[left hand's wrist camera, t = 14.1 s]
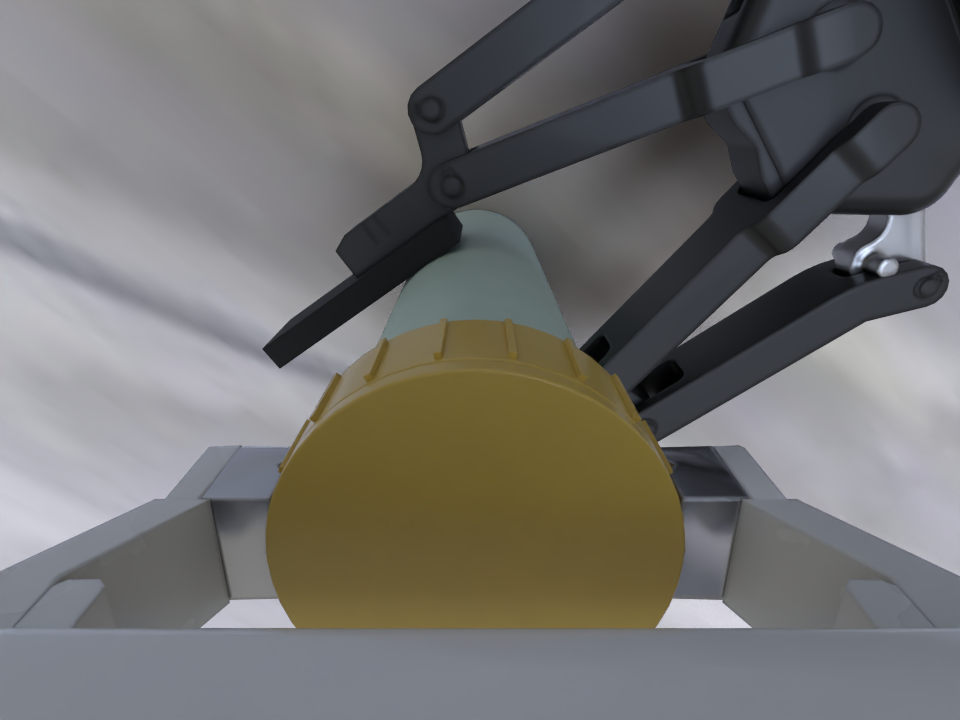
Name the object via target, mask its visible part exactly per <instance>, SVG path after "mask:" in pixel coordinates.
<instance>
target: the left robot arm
mask: <svg viewBox="0 0 960 720" xmlns="http://www.w3.org/2000/svg"><path fill="white" fill-rule="evenodd" d="M290 448H291V447H264V446H244V447H243V446H213V447H209V448H208V449H207V450H206V451H205V452H204V453H203V455H202V456H201V457H200V458H199V459H198V461H197V462H196V463H195V464H194V465H193V466H192V468H191V469H190V470H189V471H188V472H187V474H186V475H185V476H184V477H183V478H182V479H181V481H180V482H179V483H178V484H177V485H176V487H175V488H174V489H173V490H172V491H171V493H170V494H169V495H168V496H167V497H166V498H165V499H154V500H152V501H150V502H148V503H146V504H144V505H142V506H139V507H137V508H135V509H133V510H131V511H129V512H127V513H124V514H122V515H120V516H118V517H116V518H114V519H112V520H109V521H107V522H105V523H103V524H101V525H99V526H97V527H94V528H92V529H90V530H88V531H86V532H84V533H81V534H79V535H77V536H75V537H73V538H71V539H69V540H66V541H64V542H62V543H60V544H58V545H56V546H54V547H51V548H49V549H47V550H45V551H43V552H41V553H39V554H36V555H34V556H32V557H30V558H28V559H26V560H24V561H21V562H19V563H17V564H15V565H13V566H11V567H9V568H6V569H4V570H2V571H0V720H960V576H958V575H956V574H954V573H952V572H950V571H947V570H945V569H943V568H941V567H939V566H937V565H935V564H933V563H931V562H928V561H926V560H924V559H922V558H920V557H918V556H916V555H914V554H912V553H909V552H907V551H905V550H903V549H901V548H899V547H897V546H895V545H893V544H890V543H888V542H886V541H884V540H882V539H880V538H878V537H876V536H873V535H871V534H869V533H867V532H865V531H863V530H861V529H859V528H857V527H854V526H852V525H850V524H848V523H846V522H844V521H842V520H840V519H838V518H835V517H833V516H831V515H829V514H827V513H825V512H823V511H821V510H819V509H816V508H814V507H812V506H810V505H808V504H806V503H804V502H802V501H799V500H797V499H786V497H785V496H784V495H783V494H782V493H781V491H780V490H779V489H778V488H777V486H776V485H775V484H774V483H773V482H772V480H771V479H770V478H769V477H768V476H767V474H766V473H765V472H764V471H763V469H762V468H761V467H760V466H759V465H758V463H757V462H756V461H755V460H754V459H753V457H752V456H751V455H750V454H749V453H748V451H747V450H746V449H745V448H744V447H741V446H739V445H735V446H699V447H660V448H661V449H662V451H663V453H664V455H665V457H666V458H667V460H668V462H669V464H670V466H671V468H672V470H673V473H671V474H670V477H671V479H672V481H673V484H674V486H675V488H676V491H677V493H678V496H679V500H680V505H681V509H682V513H683V517H684V529H685V549H684V561H683V566H682V570H681V574H680V578H679V582H678V586H677V588H676V591H675V593H674V595H673V598H674V599H711V600H723V603H724V604H725V605H726V606H727V607H729V608H730V609H731V610H732V611H733V612H734V613H736V614H737V615H738V616H739V617H740V618H741V619H743V620H744V621H745V622H746V623H747V624H748V625H750V626H751V627H752V628H200V627H202V626H203V625H204V624H205V623H206V622H207V621H209V620H210V619H211V618H212V617H213V616H215V615H216V614H217V613H218V612H219V611H220V610H222V609H223V608H224V607H225V606H226V605H228V604H229V603H230V601H229V600H241V599H277V598H278V596H277V593H276V591H275V588H274V586H273V583H272V580H271V576H270V571H269V567H268V563H267V555H266V541H265V534H266V523H267V513H268V510H269V506H270V502H271V498H272V494H273V491H274V489H275V486H276V484H277V482H278V480H279V477H280V475H281V473H278V470H279V467H280V465H281V463H282V462H283V460H284V458H285V456H286V455H287V453H288V451H289V449H290Z"/></svg>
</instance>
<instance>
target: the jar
mask: <svg viewBox="0 0 960 720" xmlns="http://www.w3.org/2000/svg"><path fill="white" fill-rule="evenodd" d="M455 215H456V216H457V217H458V219H459V220H460V222H461V223H462V225H463V228H462V234H461V239H460V242H459V243H458V244H456V245H455V246H453V247H452V248H451V249H449V250H448V251H446V252H445V253H443V254H442V255H441V256H439V257H438V258H436V259H435V260H434V261H432V262H431V263H429V264H428V265H426V266H425V267H424V268H422V269H421V270H419V271H418V272H416V273H415V274H414V275H412V276H411V277H409V278H408V279H407V280H406V282H405V285H404V287H403V289H402V291H401V293H400V296H399V298H398V300H397V302H396V304H395V307H394V309H393V311H392V313H391V315H390V318H389V320H388V322H387V324H386V326H385V329H384V331H383V333H382V335H381V338H380V339H382V338H384V337H386V339H387V340H390V339H392V338H394V337H396V336H398V335H400V334H403V333H405V332H408V331H411V330H414V329H418V328H421V327H424V326H427V325H432V324H437V323H439V322H440V319H443V318H447V322H448V321H457V320H476V319H479V320H493V321H504V322H505V318H508V319H512V322H513V323H514V324H519V325H524V326H528V327H531V328H534V329H537V330H540V331H543V332H546V333H549V334H551V335H553V336H556V337H558V338H560V339H562V340H565V339H566V338H569V339H571V340H572V341H573V343H574V340H573V338H572V336H571V334H570V331H569V329H568V327H567V324H566V322H565V320H564V318H563V315H562V313H561V311H560V308H559V306H558V304H557V302H556V299H555V297H554V295H553V292H552V290H551V288H550V286H549V283H548V281H547V279H546V276H545V274H544V272H543V270H542V267H541V265H540V263H539V260H538V258H537V256H536V254H535V251H534V249H533V247H532V244H531V243H530V241H529V239H528V237H527V236H526V234H525V233H524V232H523V230H522V229H521V228H520V227H519V226H518V225H517V224H515V223H514V222H513V221H512V220H510V219H508V218H507V217H505V216H503V215H501V214H498V213H495V212H492V211H487V210H467V211H462V212H459V213H456V214H455ZM379 341H380V340H379ZM378 343H379V342H378ZM377 345H378V344H377ZM574 346H575V347H576V345H575V343H574ZM376 347H377V346H376ZM576 348H577V347H576Z"/></svg>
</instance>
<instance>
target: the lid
mask: <svg viewBox="0 0 960 720" xmlns="http://www.w3.org/2000/svg"><path fill="white" fill-rule="evenodd" d="M309 419H310V420H311V421H310V420H308V419H307V420H306V422H305V424H304V425H303V427H302V429H301V430H300V432H299V434H298V436H297V437H296V439H295V441H294V443H293V444H292V446H291V448H290V449H289V451H288V453H287V455H286V456H285V458H284V460H283V462H282V463H281V465H280V467H279V470H278V473H281V475H280V477H279V480H278V482H277V484H276V486H275V489H274V491H273V494H272V498H271V502H270V506H269V510H268V513H267V523H266V534H265V541H266V555H267V563H268V567H269V571H270V576H271V580H272V583H273V586H274V588H275V591H276V593H277V596H278V598H279V601H280V603H281V605H282V607H283V608H284V610H285V612H286V613H287V615H288V617H289V619H290V620H291V622H292V623H293V625H294V626H295V627H296V628H655V627H656V626H657V625H658V623H659V622H660V620H661V618H662V617H663V615H664V613H665V612H666V610H667V608H668V607H669V605H670V603H671V600H672V598H673V595H674V593H675V591H676V588H677V586H678V582H679V578H680V574H681V570H682V566H683V561H684V549H685V529H684V517H683V513H682V509H681V505H680V500H679V496H678V493H677V491H676V488H675V486H674V484H673V481H672V479H671V477H670V474H671V473H673V470H672V468H671V466H670V464H669V462H668V460H667V458H666V457H665V455H664V453H663V451H662V449H661V448H660V446H659V444H658V442H657V440H656V439H655V437H654V435H653V433H652V431H651V430H650V428H649V426H648V424H647V422H646V421H645V420H643V421H641V417H640V415H639V413H638V411H637V410H636V408H635V406H634V404H633V402H632V400H631V399H630V397H629V395H628V393H627V391H626V389H625V388H624V386H623V384H622V382H621V380H620V378H619V377H618V376H617V375H616V374H615V373H614V374H613V375H612V376H611V375H610V374H609V373H608V372H607V371H606V370H605V369H604V368H603V367H601V366H600V365H599V364H598V363H597V362H596V361H595V360H594V359H592V358H591V357H590V356H588V355H587V354H585V353H584V352H582V351H581V350H579V349H578V348H576V347H575V346H574V343H573V341H572V340H571V339H569V338H566V339H565V340H562V339H560V338H558V337H556V336H553V335H551V334H549V333H546V332H543V331H540V330H537V329H534V328H531V327H528V326H524V325H519V324H514V323H513V322H512V319H508V318H505V322H504V321H493V320H479V319H476V320H457V321H448V322H447V318H443V319H440V322H439V323H437V324H432V325H427V326H424V327H421V328H418V329H414V330H411V331H408V332H405V333H403V334H400V335H398V336H396V337H394V338H392V339H390V340H387V339H386V337H384V338H382V339H380V341H379V343H378V345H377V347H375V348H374V349H372V350H371V351H369V352H368V353H366V354H364V355H363V356H362V357H361V358H359V359H358V360H357V361H356V362H355V363H354V364H352V365H351V366H350V367H349V368H348V369H347V370H345V372H344V373H343V374H342V375H339V374H338V373H336V374H335V375H334V376H333V378H332V380H331V381H330V383H329V385H328V387H327V388H326V390H325V392H324V394H323V395H322V397H321V399H320V401H319V402H318V404H317V406H316V408H315V409H314V411H313V413H312V415H311V416H310V418H309Z"/></svg>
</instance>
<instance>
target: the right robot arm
mask: <svg viewBox="0 0 960 720" xmlns="http://www.w3.org/2000/svg"><path fill="white" fill-rule="evenodd" d="M622 1H624V0H531V1H530V2H528V3H527V4H526V5H524V6H523V7H522V8H520V9H519V10H518V11H517V12H515V13H514V14H513V15H511V16H510V17H509V18H507V19H506V20H505V21H504V22H502V23H501V24H500V25H498V26H497V27H496V28H494V29H493V30H492V31H491V32H489V33H488V34H487V35H485V36H484V37H483V38H481V39H480V40H479V41H478V42H476V43H475V44H474V45H472V46H471V47H470V48H468V49H467V50H466V51H465V52H463V53H462V54H461V55H459V56H458V57H457V58H455V59H454V60H453V61H452V62H450V63H449V64H448V65H446V66H445V67H444V68H442V69H441V70H440V71H438V72H437V73H436V74H435V75H433V76H432V77H431V78H429V79H428V80H427V81H425V82H424V83H423V84H422V85H420V86H419V87H418V88H417V89H416V90H415V91H414V92H413V93H412V94H411V96H410V99H409V102H408V115H409V118H410V120H411V122H412V124H413V126H414V129H415V133H416V136H417V140H418V143H419V147H420V150H421V155H422V169H421V172H420V175H419V177H418V178H417V180H416V181H415V182H414V183H413V184H411V185H410V186H409V187H407V188H406V189H405V190H403V191H402V192H401V193H399V194H398V195H397V196H395V197H394V198H393V199H391V200H390V201H389V202H387V203H386V204H385V205H383V206H382V207H381V208H379V209H378V210H377V211H375V212H374V213H372V214H371V215H370V216H368V217H367V218H366V219H364V220H363V221H362V222H360V223H359V224H358V225H356V226H355V227H354V228H353V229H351V230H350V231H349V232H348V233H347V234H346V235H345V236H344V237H343V239H342V241H341V243H340V244H339V246H338V248H337V250H336V252H337V254H338V255H339V256H340V258H341V259H342V260H343V261H344V263H345V264H346V265H347V266H348V268H349V269H350V270H351V271H352V273H353V275H352V276H350V277H349V278H347V279H346V280H345V281H343V282H342V283H340V284H339V285H338V286H336V287H335V288H334V289H332V290H331V291H329V292H328V293H327V294H325V295H324V296H323V297H321V298H320V299H318V300H317V301H316V302H314V303H313V304H311V305H310V306H309V307H307V308H306V309H305V310H303V311H302V312H300V313H299V314H298V315H296V316H295V317H293V318H292V319H291V320H290V321H289V322H288V323H287V324H286V325H285V326H284V327H283V328H282V329H281V330H280V331H279V332H278V333H277V334H276V335H275V336H274V337H273V338H272V339H271V340H270V342H269V343H268V344H267V345H266V346H265V347H264V348H263V350H264V351H265V352H266V354H267V355H268V356H269V357H270V358H271V359H272V360H273V361H274V363H275V364H276V365H277V366H278V367H279V368H281V367H283V366H284V365H286V364H287V363H288V362H290V361H291V360H293V359H294V358H296V357H297V356H298V355H300V354H301V353H303V352H304V351H306V350H307V349H308V348H310V347H311V346H313V345H314V344H315V343H317V342H318V341H320V340H321V339H323V338H324V337H325V336H327V335H328V334H330V333H331V332H333V331H334V330H335V329H337V328H338V327H340V326H341V325H343V324H344V323H345V322H347V321H348V320H350V319H351V318H352V317H354V316H355V315H357V314H358V313H360V312H361V311H362V310H364V309H365V308H367V307H368V306H370V305H371V304H372V303H374V302H375V301H377V300H378V299H379V298H381V297H382V296H384V295H385V294H387V293H388V292H389V291H391V290H392V289H394V288H395V287H397V286H398V285H399V284H401V283H402V282H404V281H405V280H406V279H408V278H409V277H411V276H412V275H414V274H415V273H416V272H418V271H419V270H421V269H422V268H424V267H425V266H426V265H428V264H429V263H431V262H432V261H434V260H435V259H436V258H438V257H439V256H441V255H442V254H443V253H445V252H446V251H448V250H449V249H451V248H452V247H453V246H455V245H456V244H458V243H459V242H460V239H461V234H462V228H463V225H462V223H461V222H460V220H459V219H458V217H457V216H456V215H455V213H454V212H453V211H454V210H456V209H457V208H460V207H463V206H465V205H468V204H470V203H473V202H476V201H478V200H481V199H483V198H486V197H489V196H491V195H494V194H496V193H499V192H502V191H504V190H507V189H509V188H512V187H515V186H517V185H520V184H522V183H525V182H528V181H530V180H533V179H535V178H538V177H541V176H543V175H546V174H548V173H551V172H554V171H556V170H559V169H561V168H564V167H567V166H569V165H572V164H574V163H577V162H580V161H582V160H585V159H587V158H590V157H593V156H595V155H598V154H600V153H603V152H606V151H608V150H611V149H613V148H616V147H619V146H621V145H624V144H626V143H629V142H632V141H634V140H637V139H639V138H642V137H645V136H647V135H650V134H652V133H655V132H658V131H660V130H663V129H665V128H668V127H671V126H673V125H676V124H678V123H681V122H684V121H687V120H690V119H694V118H698V117H701V116H704V117H705V119H706V120H707V122H708V124H709V125H710V126H711V127H712V128H713V129H714V130H715V132H716V133H717V134H718V135H719V136H720V137H721V138H722V139H723V140H724V141H725V142H726V143H727V145H728V149H729V154H730V159H731V164H732V169H733V173H734V174H735V176H736V178H737V180H738V181H737V182H736V183H735V184H734V185H733V186H732V187H731V188H730V189H729V190H728V191H727V192H726V193H725V194H724V195H723V196H722V197H721V198H720V199H719V201H718V202H717V203H716V205H715V206H714V209H713V213H712V215H711V216H710V217H709V218H708V219H707V220H706V221H705V223H704V224H703V225H702V226H701V227H700V228H699V229H698V230H697V231H696V232H695V233H694V234H693V235H692V236H691V237H690V238H689V239H688V240H687V241H686V242H685V243H684V244H683V245H682V246H681V247H680V248H679V249H678V250H677V251H676V252H675V253H674V254H673V255H672V256H671V257H670V258H669V259H668V260H667V261H666V262H665V263H664V264H663V265H662V266H661V267H660V268H659V269H658V270H657V271H656V272H655V273H654V274H653V275H652V276H651V277H650V278H649V279H648V280H647V281H646V282H645V283H644V284H643V285H642V286H641V287H640V288H639V289H638V290H637V291H636V292H635V293H634V294H633V295H632V296H631V297H630V298H629V299H628V300H627V301H626V302H625V303H624V304H623V305H622V306H621V307H620V308H619V309H618V310H617V311H616V312H615V313H614V314H613V315H612V316H611V318H610V319H609V320H608V321H607V322H606V323H605V324H604V325H603V326H602V327H601V328H600V329H599V330H598V331H597V332H596V333H595V334H594V335H593V336H592V337H591V338H590V339H589V340H588V341H587V342H586V343H585V344H584V345H583V346H582V347H581V348H580V349H579V350H581V351H582V352H584V353H585V354H587V355H588V356H590V357H591V358H592V359H594V360H595V361H596V362H597V363H598V364H599V365H600V366H601V367H603V368H604V369H605V370H606V371H607V372H608V373H609V374H610V375H611V376H612V375H613V374H614V373H615V374H616V375H617V376H618V377H619V378H620V380H621V382H622V384H623V386H624V388H625V389H626V391H627V393H628V395H629V397H630V399H631V400H632V402H633V404H634V406H635V408H636V410H637V411H638V413H639V415H640V417H641V421H643V420H645V421H646V422H647V424H648V426H649V428H650V430H651V431H652V433H653V435H654V437H655V439H656V440H657V442H658V441H660V440H662V439H663V438H665V437H667V436H669V435H670V434H672V433H674V432H675V431H677V430H679V429H681V428H682V427H684V426H686V425H688V424H689V423H691V422H693V421H695V420H696V419H698V418H700V417H701V416H703V415H705V414H707V413H708V412H710V411H712V410H714V409H715V408H717V407H719V406H720V405H722V404H724V403H726V402H727V401H729V400H731V399H733V398H734V397H736V396H738V395H740V394H741V393H743V392H745V391H746V390H748V389H750V388H752V387H753V386H755V385H757V384H759V383H760V382H762V381H764V380H765V379H767V378H769V377H771V376H772V375H774V374H776V373H778V372H779V371H781V370H783V369H785V368H786V367H788V366H790V365H791V364H793V363H795V362H797V361H798V360H800V359H802V358H804V357H805V356H807V355H809V354H810V353H812V352H814V351H816V350H817V349H819V348H821V347H823V346H824V345H826V344H828V343H830V342H831V341H833V340H835V339H836V338H838V337H840V336H842V335H843V334H845V333H847V332H849V331H850V330H852V329H854V328H855V327H857V326H859V325H861V324H862V323H864V322H866V321H870V320H874V319H878V318H882V317H886V316H890V315H894V314H898V313H902V312H906V311H910V310H914V309H919V308H923V307H927V306H929V305H931V304H934V303H936V302H937V301H938V300H939V299H940V298H942V297H943V295H944V293H945V292H946V290H947V288H948V283H949V279H948V274H947V273H946V272H945V270H944V269H943V268H940V267H938V266H935V265H932V264H929V263H926V262H925V209H926V208H927V207H929V206H931V205H932V204H934V203H935V202H936V201H938V200H939V199H940V198H941V197H942V196H943V195H944V194H945V193H946V192H947V190H948V189H949V188H950V186H951V185H952V184H953V182H954V181H955V179H956V178H957V177H958V176H959V175H960V0H731V3H730V5H729V7H728V9H727V12H726V14H725V16H724V19H723V21H722V23H721V25H720V28H719V30H718V32H717V34H716V37H715V39H714V41H713V44H712V46H711V48H710V50H709V53H708V54H706V55H703V56H701V57H698V58H696V59H693V60H691V61H688V62H686V63H683V64H681V65H678V66H676V67H673V68H671V69H668V70H666V71H663V72H661V73H658V74H656V75H654V76H652V77H650V78H647V79H645V80H642V81H640V82H637V83H635V84H632V85H630V86H627V87H625V88H622V89H620V90H617V91H615V92H612V93H610V94H607V95H604V96H602V97H599V98H597V99H594V100H592V101H589V102H587V103H584V104H582V105H579V106H577V107H574V108H572V109H569V110H567V111H564V112H562V113H559V114H557V115H554V116H552V117H549V118H547V119H544V120H542V121H539V122H537V123H534V124H532V125H529V126H527V127H524V128H522V129H519V130H516V131H514V132H511V133H509V134H506V135H504V136H501V137H499V138H496V139H494V140H491V141H489V142H486V143H484V144H481V145H479V146H476V147H474V148H471V149H469V148H468V144H467V140H466V136H465V133H464V129H463V125H462V120H463V119H464V118H466V117H467V116H468V115H470V114H471V113H472V112H474V111H475V110H476V109H478V108H479V107H481V106H482V105H483V104H485V103H486V102H487V101H489V100H490V99H491V98H493V97H494V96H495V95H497V94H498V93H499V92H501V91H502V90H503V89H505V88H506V87H508V86H509V85H510V84H512V83H513V82H514V81H516V80H517V79H518V78H520V77H521V76H522V75H524V74H525V73H526V72H528V71H529V70H531V69H532V68H533V67H535V66H536V65H537V64H539V63H540V62H541V61H543V60H544V59H545V58H547V57H548V56H549V55H551V54H552V53H554V52H555V51H556V50H558V49H559V48H560V47H562V46H563V45H564V44H566V43H567V42H568V41H570V40H571V39H572V38H574V37H575V36H577V35H578V34H579V33H581V32H582V31H583V30H585V29H586V28H587V27H589V26H590V25H591V24H593V23H594V22H595V21H597V20H598V19H599V18H601V17H602V16H604V15H605V14H606V13H608V12H609V11H610V10H612V9H613V8H614V7H616V6H617V5H618V4H620V3H621V2H622ZM830 214H853V215H869V219H868V222H867V224H866V226H865V227H864V228H863V230H862V231H861V232H860V233H858V234H857V235H856V236H854V237H852V238H850V239H848V240H846V241H845V242H841V243H838V244H837V245H836V246H835V247H834V249H833V251H832V256H833V258H834V259H833V260H830V261H827V262H823V263H820V264H818V265H816V266H813V267H811V268H809V269H806V270H804V271H802V272H801V273H799V274H797V275H795V276H793V277H792V278H790V279H788V280H787V281H785V282H783V283H782V284H780V285H779V286H777V287H775V288H774V289H772V290H770V291H769V292H767V293H765V294H764V295H762V296H761V297H759V298H757V299H756V300H754V301H752V302H751V303H749V304H747V305H746V306H744V307H743V308H741V309H739V310H738V311H736V312H734V313H733V314H731V315H729V316H728V317H726V318H725V319H723V320H721V321H720V322H718V323H716V324H715V325H713V326H712V327H710V328H708V329H707V330H705V331H703V332H702V333H700V334H698V335H697V336H695V337H694V338H692V339H690V340H689V341H687V342H685V343H684V344H682V345H680V344H681V343H682V342H683V341H684V340H685V339H686V338H687V337H688V336H689V335H690V334H691V333H693V332H694V331H695V330H696V329H697V328H698V327H699V326H700V325H701V324H702V323H703V322H704V321H705V320H706V319H707V318H708V317H709V316H710V315H711V314H713V313H714V312H715V311H716V310H717V309H718V308H719V307H720V306H721V305H722V304H723V303H724V302H725V301H726V300H727V299H728V298H729V297H730V296H732V295H733V294H734V293H735V292H736V291H737V290H738V289H739V288H740V287H741V286H742V285H743V284H744V283H745V282H746V281H747V280H748V279H749V278H750V277H752V276H753V275H754V274H755V273H756V272H757V271H758V270H759V269H760V268H761V267H762V266H763V265H764V264H765V263H766V262H767V261H769V260H770V259H771V258H773V257H774V256H777V255H780V254H783V253H786V252H788V251H790V250H791V249H793V248H794V247H795V246H797V245H798V244H799V243H800V242H801V241H802V240H803V239H804V238H805V237H806V236H808V235H809V234H810V233H811V232H812V231H813V230H814V229H815V228H816V227H817V226H818V225H819V224H820V223H821V222H822V221H823V220H825V219H826V218H827V217H828V216H829V215H830ZM679 345H680V346H679ZM678 346H679V347H678Z"/></svg>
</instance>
